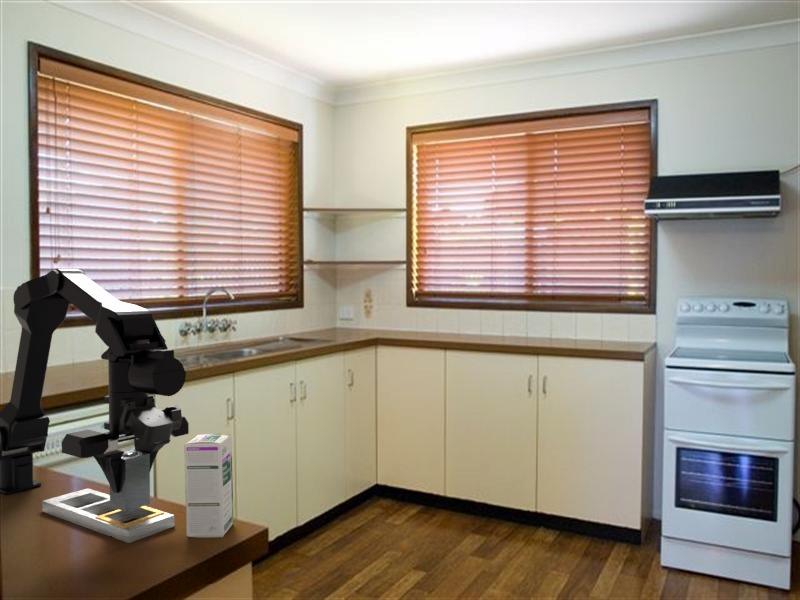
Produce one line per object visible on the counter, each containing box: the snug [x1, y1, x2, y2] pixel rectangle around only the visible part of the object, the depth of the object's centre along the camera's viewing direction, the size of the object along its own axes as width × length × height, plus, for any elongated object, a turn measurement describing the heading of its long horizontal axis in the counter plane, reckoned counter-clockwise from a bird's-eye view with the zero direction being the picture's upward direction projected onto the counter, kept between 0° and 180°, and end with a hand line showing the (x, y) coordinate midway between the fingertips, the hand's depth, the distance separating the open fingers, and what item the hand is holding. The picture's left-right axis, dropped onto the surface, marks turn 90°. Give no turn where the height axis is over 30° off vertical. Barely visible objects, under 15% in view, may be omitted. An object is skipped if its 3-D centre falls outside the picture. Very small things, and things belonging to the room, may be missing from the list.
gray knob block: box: [109, 449, 151, 512], centre depth 104 cm, size 4×4×8 cm
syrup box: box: [183, 433, 235, 538], centre depth 102 cm, size 6×6×14 cm
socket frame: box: [41, 487, 175, 544], centre depth 107 cm, size 24×8×2 cm, turn 56°
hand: (129, 488), depth 104 cm, fingers closed on gray knob block, 4 cm apart
